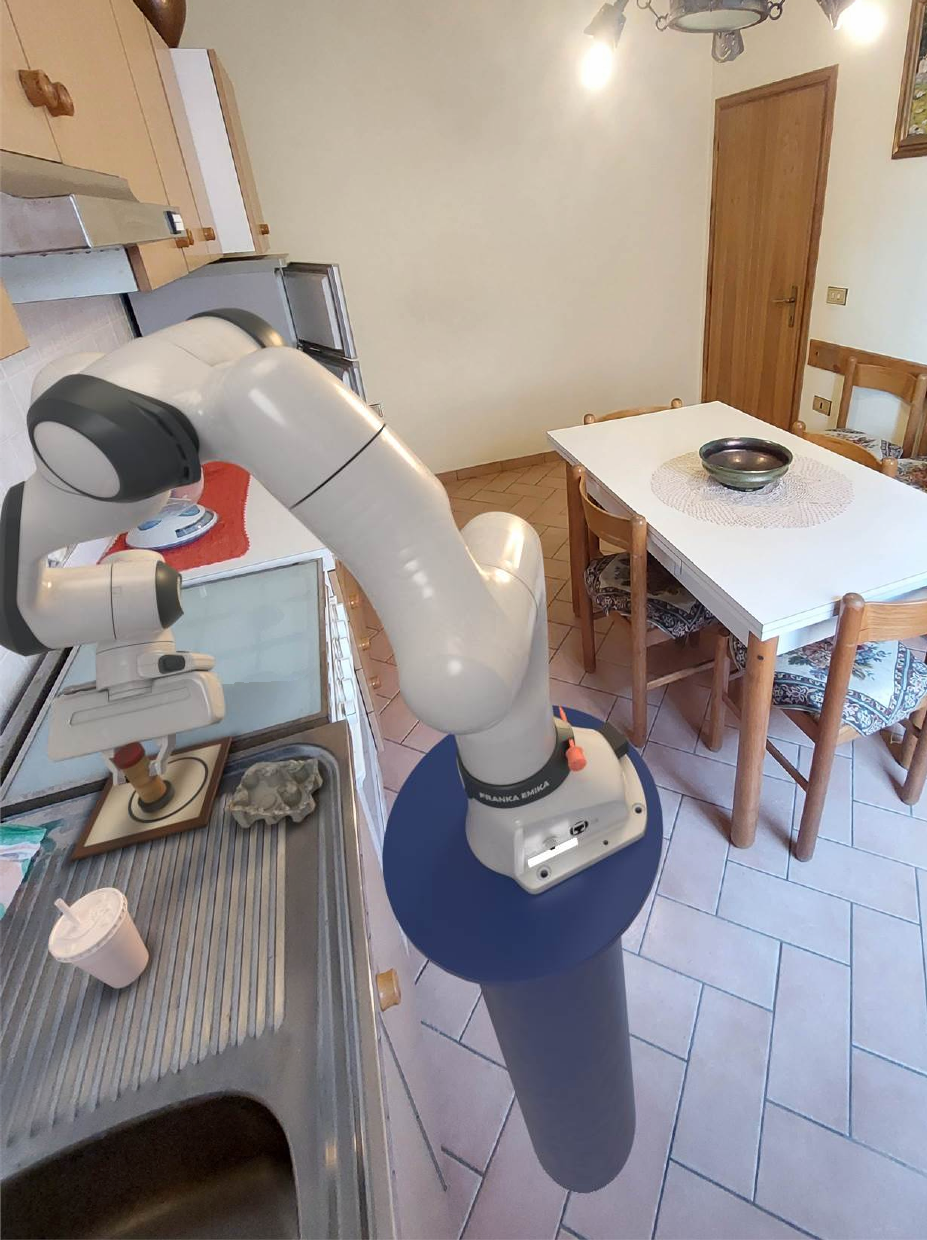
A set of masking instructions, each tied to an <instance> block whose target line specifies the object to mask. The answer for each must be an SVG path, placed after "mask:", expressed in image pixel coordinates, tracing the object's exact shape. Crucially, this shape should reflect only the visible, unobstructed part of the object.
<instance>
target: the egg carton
mask: <svg viewBox="0 0 927 1240" xmlns="http://www.w3.org/2000/svg"><path fill="white" fill-rule="evenodd" d="M322 784H323V779H322V776H321V775H320V771H319V757H314V758H309V759H306V760H300V759H298V761H296V760H294V759H288V760H283V761H280V760H279V761H275V762H271V761H260V762H256V763H254V764H253V765H251V766H250V767H249V768H247V769H246V771H245V772H244V774H243V775H242V777H241V780H240V783H239V785H238V786H237V787H236V790H235V796H234V798H233V800H232V799H231V798H230V800H229V801H228V802H227V805H226V806H224V807H223V808H222V811H223V812H222V813H225V811H227V812H229V811H230V812H231V815H232V816H233V818H234V819H235V821H236V822H237V823H238V824H239V826H240V827H241V828H243V829H247V828H248V829H249V828H250V827H251V826H252V825H253V824H254V823H255V822H256V821H258V820H262V819H264V821H265V823H266V825H267V826H270V825H275V824H278V822H279V821H280V820H281V819H282V818H284V817H287V816H290V817H291V818H292V822H294V823H300V822H302V821H303V820H304V819H305V818H306V816H308V815H309V814H311V813H312V812H314V810H315V808H316V802H315V801H314V798H313V797H312V796H313V795H312V794H313V793H314V792H315V791H316V790H318V789H319V788H321V787H322Z"/></svg>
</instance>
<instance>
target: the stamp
mask: <svg viewBox="0 0 927 1240" xmlns="http://www.w3.org/2000/svg"><path fill="white" fill-rule="evenodd" d="M147 756H148V755H147V754H146V749H145V747H144V746H143V744H142V742H140V743H138V742H134V743H130V744H128V745H126V746H123V747H122V748H121V749H120V750H119V751H118V752H117V753H116V754H115V755H114V757H113V762H114V764H115V765H116V767H117V768H118V769H121V770H122V772H123V773H124V775H125V776H126V777H127V779H128V780H129V782H130V783H131V785H132V786H133V788H134V789H135V790H136V792H137V793H138V795H139V798H138V806H139V807H140V808H141V810H142V811H143V812H145V813H153V812H156V811H159V810H161V809H162V808H164V807H165V806H166V805H167V804H168V803H169V802H170V801H171V800H172V798H173V797H174V794H175V789H174V787H173V785H172V784H171V782H170V781H168V780H162V779H161V777H160V776H156V777H151V778H150V777H149V771H150V770H149V769H148V766H149V763H151V762H150V760H149V759H148V757H147Z"/></svg>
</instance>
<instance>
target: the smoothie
mask: <svg viewBox="0 0 927 1240" xmlns="http://www.w3.org/2000/svg"><path fill="white" fill-rule="evenodd" d="M53 904H54V905H55V907H57V908H58V909H59V911H61V913H62V914H61V916H60V918H58V920H57V921H56V922H55V924H54V926H53V928H52V930H51V932H50V935H49V938H48V943H47V944H48V950H49V953H50V954H51V955H52V956H53V958H54V959H55V960H56V961H57V962H60V963H63V964H68V963H69V964H71V965H72V966H75V967H77V968H79V969H81V970H82V971H83V972H85V973H87V974H89V975H90V976H92V977H94V978H96V979H97V980H99V981H101V982H102V983H104V984H106V985H108V986H109V987H111V988H113V989H123V988H125V987H128V986H129V985H131V984H132V983H133V982H135V981H136V980H137V979H138V978H139V977H140V976H141V974H142V973H143V972H144V970H145V968H146V967H147V965H148V963H149V952H148V950H147V948H146V945H145V943H144V941H143V939H142V937H141V935H140V932H139V931H138V929H137V927H136V925H135V922H134V921H133V918H132V917H131V914H130V912H129V910H128V900H127V898H126V895H124V894H123V893H122V892H121V891H120V890H119V889H118V888H115V887H102V888H98V889H94V890H93V891H90V892H89V893H87V894H85V895H84V896H82V897H80V898H79V899H77V900H76V901H75V902H74V903H72V905H70V906H69V905H68V904H67V903H66V902H65V901H64V900H63V899H62V898H61V897H59V898H57V899H56V900H55V901H54V903H53Z"/></svg>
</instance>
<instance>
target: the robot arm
mask: <svg viewBox="0 0 927 1240" xmlns="http://www.w3.org/2000/svg"><path fill="white" fill-rule="evenodd" d="M29 399H30V400H29V408H28V410H27V413H26V427H27V433H28V438H29V442H30V445H31V449H32V454H33V459H34V463H35V467H36V469H35V471H34V473H32V474H31V476H29V477H28V478H27V479H26V480H22V481H21V482H18V483H17V484H14V485H12V486H10V487H9V489H8V490H7V492H6V494H5V496H4V498H3V500H2V501H3V502H2V504H1V511H0V646H1V647H2V648H5V649H7V650H8V651H10V652H13V653H15V654H17V655H20V656H22V657H31V656H35V655H36V656H37V655H40V654H44V653H48V652H54V651H58V650H60V649H65V648H71V647H79V646H86V645H91V644H92V645H93V644H97V645H96V649H95V654H94V655H95V679H94V680H90V681H86V682H84V683H80V684H72V685H68V686H66V687H63V689H62V690H61V691H59V692H58V693H56V695H55V696H54V697H53V698H52V700H51V702H50V717H51V718H50V723H49V728H48V735H47V741H46V742H47V743H46V756H47V757H48V758H49V760H51V761H52V762H53V763H58V762H65V761H67V760H73V759H76V758H81V757H85V756H89V755H93V754H98V753H101V760H102V762H103V764H104V765H105V766H106V767H107V768H108V770H109V771H110V773H111V772H113V785H114V786H115V787H116V786H120V785H123V784H127V783H130V782H129V780H128V779H127V777H126V776H125V775H124V773H123V772H122V770H121V769H118V768H117V767H116V765H115V764H114V762H113V757H114V755H115V754H116V753H117V752H118V751H119V750H120V749H121V748H122V747H124V746H126V745H128V744H130V743H134V742H138V743H143V742H144V743H145V742H148V741H152V740H155V741H156V747H157V748H159V751H158V753H157V754H158V756H157V758H156V760H155V762H153V763H149V766H148V769H149V770H150V771H149V777H150V778H151V777H156V776H160V775H164V774H167V772H168V761H167V759H168V758H169V756H170V754H171V752H172V750H174V748H175V746H176V744H177V735H178V734H181V733H187V732H189V731H193V730H199V729H202V728H206V727H211V726H215V725H220V723H221V722H222V721H223V719H224V718H225V716H226V701H225V696H224V689H223V687H222V685H223V684H222V681H221V678H220V677H219V675H218V674H216V673H215V671H214V672H213V671H212V670H213V669H214V668H215V665H216V661H215V660H216V659H215V657H214V656H213V655H212V654H207V653H199V652H197V653H196V652H189V651H186V650H176V642H175V638H174V635H173V632H172V628H171V627H172V626H173V625H174V624H175V623H176V622H177V621H178V620H179V619H180V618H181V617H182V616H183V615H184V614H185V612H184V610H183V602H182V584H183V575H182V573H180V572H179V571H178V570H176V569H175V568H174V567H172V566H171V565H169V564H168V563H166V560H165V558H164V556H163V555H162V554H161V553H159V552H157V551H155V550H151V549H146V548H145V549H143V548H130V549H123V550H119V551H116V552H115V551H114V552H113V553H110V554H108V555H107V556H106V555H105V557H103V558H102V559H101V561H100V564H89V565H80V566H68V567H47V557H48V556H50V555H51V554H53V553H55V552H57V551H60V550H62V549H66V548H69V547H73V546H75V545H79V544H83V543H86V542H87V543H88V542H92V541H95V540H101V539H106V538H110V537H115V536H118V535H122V534H125V533H128V532H130V531H132V530H135V529H137V528H139V527H140V526H142V525H144V524H146V523H148V522H149V521H150V520H152V519H153V518H154V517H156V516H157V515H158V514H159V513H160V511H162V510H163V508H164V507H165V506H166V505H167V502H168V501H169V499H170V497H171V493H172V491H173V490H174V489H178V488H183V487H186V486H191V485H194V484H197V483H199V482H200V481H201V480H202V466H203V465H205V464H209V463H214V462H215V463H216V462H220V463H221V462H223V463H228V464H232V465H235V466H238V467H240V468H241V469H243V470H245V471H246V472H247V473H248V474H249V475H250V476H251V477H253V478H254V479H255V480H256V481H257V482H258V483H259V484H261V486H262V487H263V488H264V489H265V490H266V491H267V492H268V493H269V494H270V495H271V496H272V497H273V498H274V499H275V500H276V501H277V502H278V503H279V504H280V505H281V506H282V507H284V508H285V509H286V510H287V512H289V514H291V515H292V516H293V517H294V518H295V519H296V520H297V521H298V522H300V523H301V524H302V525H303V526H304V527H305V528H306V529H307V530H308V532H310V533H311V534H312V535H313V536H314V537H315V538H316V539H318V541H319V542H320V543H321V544H322V545H323V546H324V547H325V548H326V549H327V550H328V551H329V552H330V553H331V554H333V556H334V557H335V558H336V559H337V560H338V561H340V562H341V563H342V565H343V566H344V567H345V568H346V569H347V570H348V571H349V572H350V574H351V575H352V576H353V578H354V579H355V580H356V581H357V583H358V584H359V586H360V588H361V589H362V590H363V592H364V593H365V596H366V597H367V599H368V600H369V602H370V604H371V606H372V608H373V609H374V611H375V613H376V615H377V617H378V619H379V621H380V623H381V625H382V627H383V629H384V631H385V633H386V634H385V635H386V636H387V639H388V641H389V643H390V646H391V649H392V652H393V656H394V660H395V664H396V669H397V676H398V684H399V692H400V696H401V699H402V701H403V703H404V704H405V706H406V708H407V709H408V710H409V712H410V713H411V714H412V716H414V717H415V718H416V719H417V720H418V721H420V723H422V724H423V725H425V726H426V727H428V728H429V729H432V730H435V731H437V732H440V733H443V734H446V735H449V734H452V735H455V738H456V742H457V766H458V770H459V774H460V778H461V781H462V785H463V788H464V789H465V791H466V794H467V796H468V811H467V816H466V836H467V840H468V843H469V846H470V848H471V850H472V851H473V853H474V855H475V856H476V857H477V858H478V860H479V861H480V862H481V863H483V864H484V865H485V866H487V867H488V868H490V869H491V870H493V871H496V872H498V873H501V874H504V875H507V876H509V877H511V878H513V879H514V880H515V881H516V882H517V883H518V884H519V885H520V886H521V887H522V888H523V889H524V890H526V891H527V892H529V893H531V894H539V893H541V892H543V891H545V890H547V889H549V888H550V887H552V886H554V885H556V884H558V883H560V882H561V881H563V880H565V879H567V878H569V877H571V876H573V875H574V874H576V873H578V872H580V871H582V870H584V869H586V868H587V867H589V866H591V865H593V864H595V863H597V862H599V861H600V860H602V859H604V858H606V857H608V856H610V855H612V854H613V853H615V852H617V851H619V850H621V849H623V848H625V847H626V846H628V845H630V844H632V843H634V842H636V841H637V840H639V839H641V838H642V837H643V836H644V834H645V831H646V827H647V806H646V800H645V796H644V792H643V788H642V785H641V782H640V780H639V777H638V775H637V772H636V770H635V768H634V766H633V764H632V762H631V761H630V759H629V758H628V756H627V755H626V754H627V753H628V752H629V743H628V741H629V739H628V738H627V736H626V735H625V734H624V733H622V732H620V731H619V730H618V728H616V726H614V725H613V724H612V723H611V722H610V721H609V720H608V721H605V724H603V725H602V726H601V727H599V728H598V729H596V730H593V729H586V728H579V727H573V726H571V725H570V724H569V723H568V722H567V719H566V716H565V713H564V711H563V710H562V708H561V707H560V706H561V705H558V706H559V710H560V716H561V719H562V720H561V719H559V718H557V717H555V716H554V715H553V707H552V705H553V701H552V693H551V685H550V658H549V657H550V655H549V653H550V651H549V628H548V627H549V626H548V607H547V591H546V578H545V565H544V564H545V563H544V553H543V548H542V547H543V546H542V543H541V539H540V536H539V534H538V533H537V531H536V530H535V528H534V527H533V526H532V525H531V524H530V523H529V522H527V520H525V519H523V518H522V517H520V516H517V515H516V514H513V513H510V512H505V511H488V512H484V513H481V514H478V515H477V516H474V517H473V518H472V519H470V520H469V521H468V522H467V523H466V524H465V525H464V527H462V528H461V529H460V530H459V528H458V526H457V523H456V522H455V518H454V516H453V513H452V508H451V503H450V499H449V495H448V493H447V490H446V489H445V487H444V485H443V483H442V482H441V481H440V479H439V478H438V477H436V475H435V474H434V473H433V472H432V471H431V470H430V469H429V468H428V467H427V466H426V464H425V463H424V462H423V461H422V460H421V459H420V458H419V457H418V456H417V454H415V453H414V452H413V450H412V449H411V448H410V447H409V446H408V445H407V444H406V443H405V442H404V440H402V439H401V437H399V436H398V435H397V433H396V432H395V430H394V429H392V428H391V427H390V426H389V424H387V422H385V420H384V419H383V418H382V417H381V416H380V415H379V414H378V413H377V411H375V410H374V409H373V408H372V407H371V406H370V405H369V404H368V403H367V402H365V401H364V399H362V398H361V396H359V395H358V394H357V393H356V392H355V391H354V390H353V389H351V387H349V386H348V385H347V384H346V383H345V382H344V381H343V380H341V379H340V378H339V377H337V376H336V375H335V374H334V373H332V372H331V371H330V370H328V369H327V368H326V367H325V366H323V365H322V364H321V363H319V361H317V360H315V359H314V358H313V357H311V356H310V355H308V353H306V352H304V351H302V350H300V349H297V348H294V347H291V346H288V345H287V343H286V341H285V339H283V337H282V336H281V335H280V333H279V332H278V331H277V330H276V329H275V328H274V327H273V326H272V325H271V324H270V323H269V322H267V321H266V320H265V319H264V318H262V317H260V316H259V315H257V314H255V313H253V312H251V311H248V310H245V309H242V308H237V307H222V308H214V309H209V310H205V311H201V312H198V313H195V314H193V315H191V316H188V318H186V319H185V320H184V321H182V322H179V323H176V324H173V325H170V326H167V327H165V328H161V329H160V330H157V331H155V332H152V333H149V334H147V335H146V336H139V337H136V338H133V339H131V340H129V341H127V342H126V343H124V344H122V345H120V346H118V347H116V348H114V349H112V350H111V351H109V352H102V351H79V352H73V353H69V354H65V355H62V356H60V357H58V358H56V359H53V360H52V361H50V362H49V363H47V364H46V365H45V366H44V367H43V368H41V369H40V370H39V372H38V373H37V374H36V376H35V377H34V380H33V382H32V385H31V390H30V398H29ZM638 810H639V811H641V813H640V814H637V813H636V811H638ZM606 844H607V845H606ZM543 874H548V876H547V877H546V878H542V877H541V876H542V875H543Z"/></svg>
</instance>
